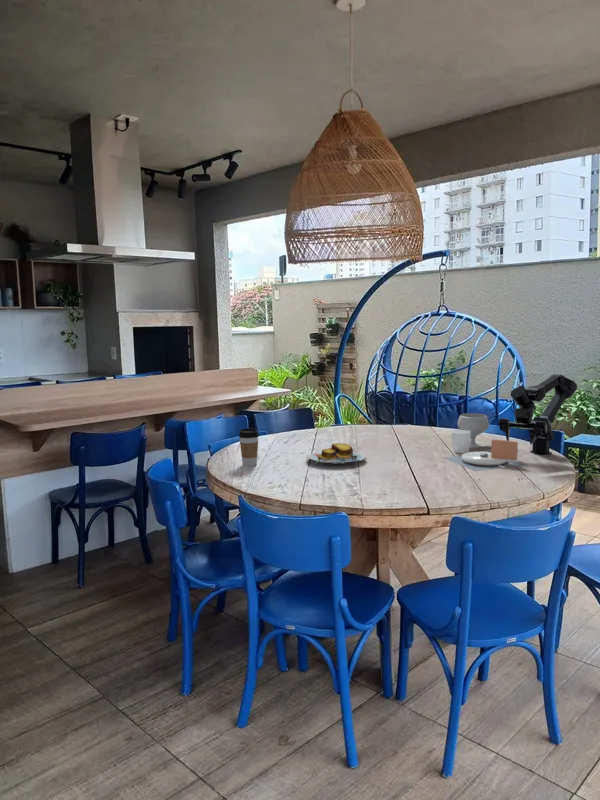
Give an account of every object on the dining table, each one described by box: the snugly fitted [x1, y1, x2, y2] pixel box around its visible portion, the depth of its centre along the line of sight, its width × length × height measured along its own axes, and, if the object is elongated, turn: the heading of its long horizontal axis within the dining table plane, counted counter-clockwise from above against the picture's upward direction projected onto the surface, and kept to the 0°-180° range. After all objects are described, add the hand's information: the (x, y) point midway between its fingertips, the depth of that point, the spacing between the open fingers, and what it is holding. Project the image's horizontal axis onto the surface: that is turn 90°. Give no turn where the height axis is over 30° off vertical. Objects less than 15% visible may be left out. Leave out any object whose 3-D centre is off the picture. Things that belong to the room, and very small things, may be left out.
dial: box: [461, 438, 519, 465], centre depth 252 cm, size 18×19×9 cm
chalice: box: [456, 412, 490, 449], centre depth 283 cm, size 14×14×15 cm
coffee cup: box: [238, 427, 260, 468], centre depth 258 cm, size 8×8×15 cm
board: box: [443, 455, 528, 472], centre depth 253 cm, size 24×24×1 cm
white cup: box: [451, 429, 471, 454], centre depth 271 cm, size 8×8×10 cm
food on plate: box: [306, 443, 367, 465], centre depth 263 cm, size 25×25×7 cm
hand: (518, 442), depth 252 cm, fingers open, 9 cm apart
